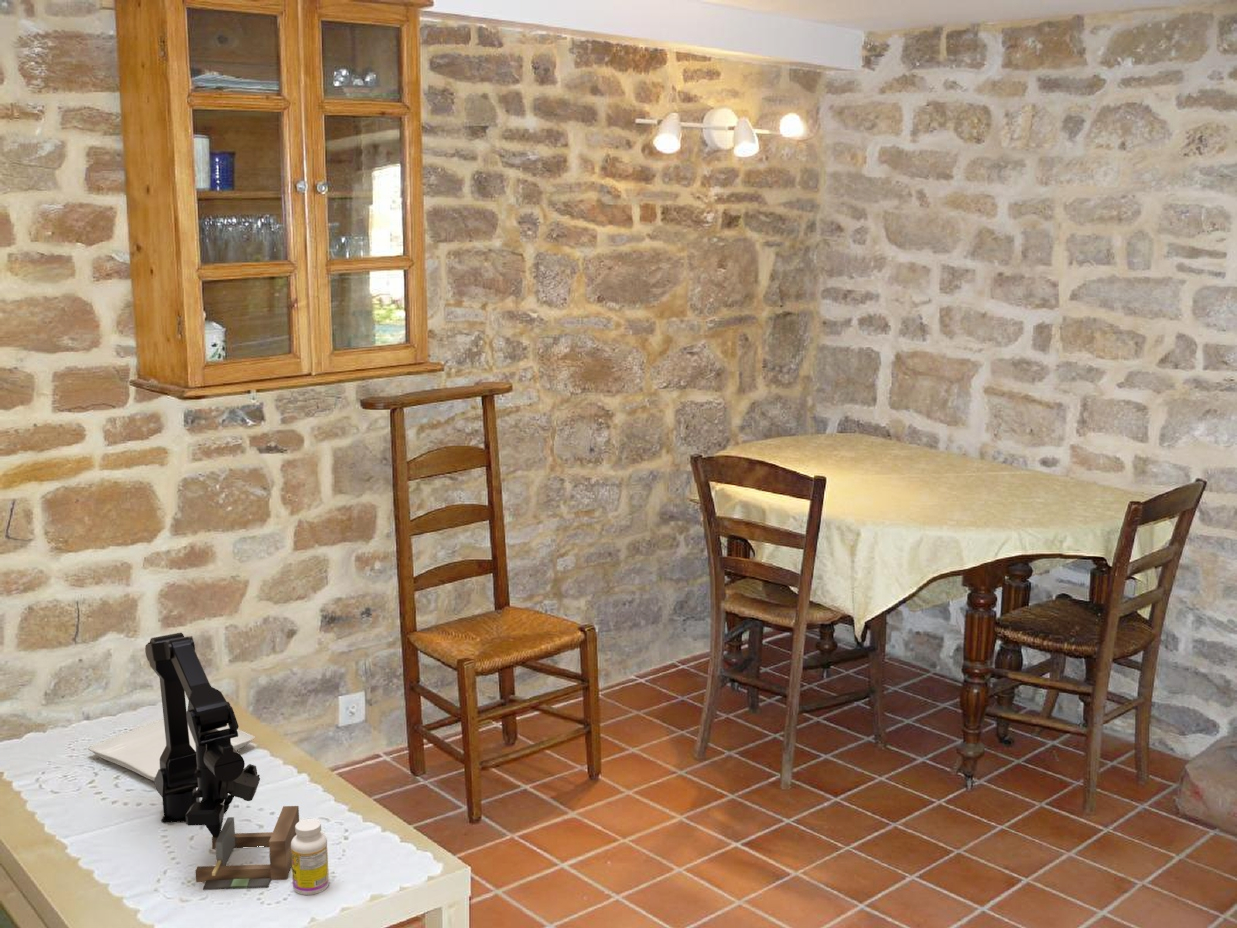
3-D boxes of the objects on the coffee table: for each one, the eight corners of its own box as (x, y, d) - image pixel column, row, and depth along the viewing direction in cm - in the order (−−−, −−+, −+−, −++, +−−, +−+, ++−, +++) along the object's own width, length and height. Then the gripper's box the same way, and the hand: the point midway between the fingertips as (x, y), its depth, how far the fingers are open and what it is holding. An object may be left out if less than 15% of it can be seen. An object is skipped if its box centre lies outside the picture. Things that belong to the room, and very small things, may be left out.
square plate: (187, 722, 309) (186, 708, 308) (258, 750, 293) (257, 735, 292) (87, 760, 287) (85, 744, 286) (157, 792, 272) (156, 776, 271)
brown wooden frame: (192, 890, 232) (189, 851, 230) (214, 844, 249) (212, 808, 247) (284, 887, 233) (282, 848, 232) (300, 842, 250) (298, 805, 248)
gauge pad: (210, 884, 232) (208, 855, 231) (229, 844, 247) (227, 817, 245) (217, 884, 232) (215, 855, 231) (235, 844, 247) (233, 817, 246)
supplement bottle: (296, 878, 237) (293, 816, 234) (331, 876, 237) (328, 815, 235) (290, 896, 230) (286, 833, 227) (326, 895, 231) (323, 832, 228)
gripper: (244, 783, 229) (248, 860, 232) (265, 740, 247) (268, 812, 250) (182, 784, 228) (187, 861, 231) (208, 742, 247) (212, 814, 250)
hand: (216, 836), depth 241 cm, fingers closed, pressing on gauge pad
